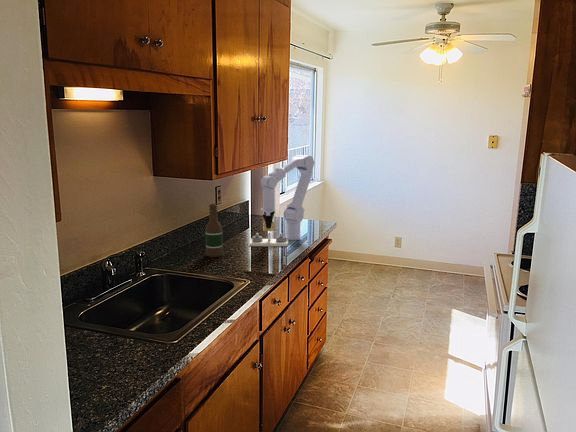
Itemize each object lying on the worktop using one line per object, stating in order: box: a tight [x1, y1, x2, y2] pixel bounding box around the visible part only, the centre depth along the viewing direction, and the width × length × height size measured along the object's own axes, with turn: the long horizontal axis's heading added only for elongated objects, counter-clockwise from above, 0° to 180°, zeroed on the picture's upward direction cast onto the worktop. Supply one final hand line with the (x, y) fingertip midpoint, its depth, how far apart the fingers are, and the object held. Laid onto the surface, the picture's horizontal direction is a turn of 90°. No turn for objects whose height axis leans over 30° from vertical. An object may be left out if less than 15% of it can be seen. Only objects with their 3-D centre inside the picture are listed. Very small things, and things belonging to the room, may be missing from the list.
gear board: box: [249, 232, 289, 247], centre depth 243 cm, size 9×19×6 cm, turn 88°
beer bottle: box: [204, 203, 224, 258], centre depth 222 cm, size 8×8×24 cm
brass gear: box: [262, 221, 276, 232], centre depth 242 cm, size 6×6×4 cm
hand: (269, 226), depth 242 cm, fingers closed on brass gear, 6 cm apart
